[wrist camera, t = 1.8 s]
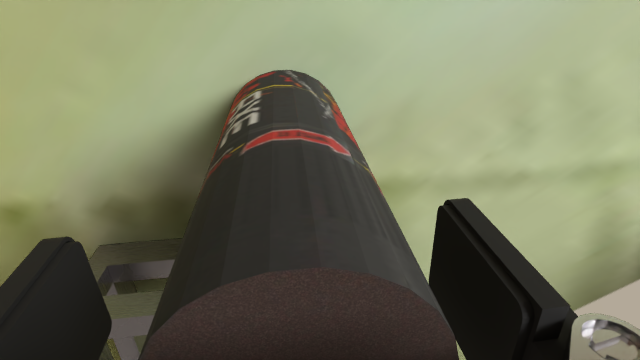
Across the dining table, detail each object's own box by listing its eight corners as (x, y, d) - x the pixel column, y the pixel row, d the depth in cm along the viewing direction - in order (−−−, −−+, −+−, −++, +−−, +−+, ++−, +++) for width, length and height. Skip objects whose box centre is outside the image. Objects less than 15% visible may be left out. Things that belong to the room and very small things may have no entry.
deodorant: (299, 193, 22) (333, 503, 9) (207, 140, 20) (76, 437, 7) (362, 112, 20) (523, 351, 7) (268, 45, 18) (249, 201, 5)
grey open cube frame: (284, 229, 23) (287, 311, 17) (295, 351, 28) (301, 446, 22) (95, 245, 22) (32, 337, 17) (141, 368, 27) (105, 472, 22)
